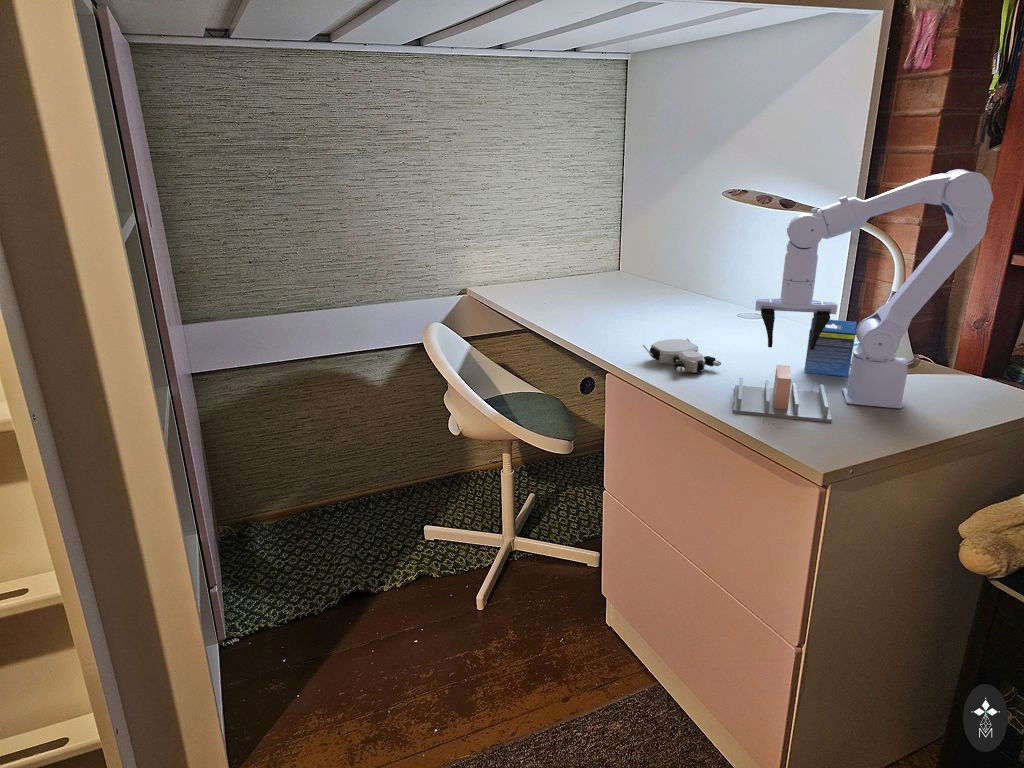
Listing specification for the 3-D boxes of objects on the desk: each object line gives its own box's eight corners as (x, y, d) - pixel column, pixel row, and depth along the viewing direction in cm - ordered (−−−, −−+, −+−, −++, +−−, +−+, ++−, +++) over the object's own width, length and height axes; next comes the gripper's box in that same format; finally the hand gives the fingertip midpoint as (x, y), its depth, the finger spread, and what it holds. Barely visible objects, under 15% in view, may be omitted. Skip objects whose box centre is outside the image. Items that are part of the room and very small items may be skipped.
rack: (824, 395, 137) (826, 383, 136) (831, 422, 124) (833, 409, 123) (735, 387, 142) (736, 375, 141) (732, 412, 129) (734, 400, 128)
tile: (786, 394, 136) (789, 365, 134) (787, 409, 129) (791, 379, 127) (773, 393, 137) (776, 364, 135) (774, 408, 130) (777, 378, 127)
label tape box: (848, 372, 149) (857, 317, 145) (848, 378, 146) (857, 321, 142) (804, 367, 153) (811, 313, 149) (803, 373, 149) (811, 318, 145)
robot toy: (723, 375, 152) (684, 352, 164) (726, 356, 150) (686, 334, 163) (676, 384, 148) (639, 359, 160) (678, 364, 146) (641, 341, 159)
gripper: (837, 276, 133) (828, 343, 137) (758, 273, 137) (751, 339, 141) (842, 283, 126) (832, 354, 131) (758, 280, 131) (752, 349, 135)
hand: (790, 347), depth 136 cm, fingers open, 7 cm apart
